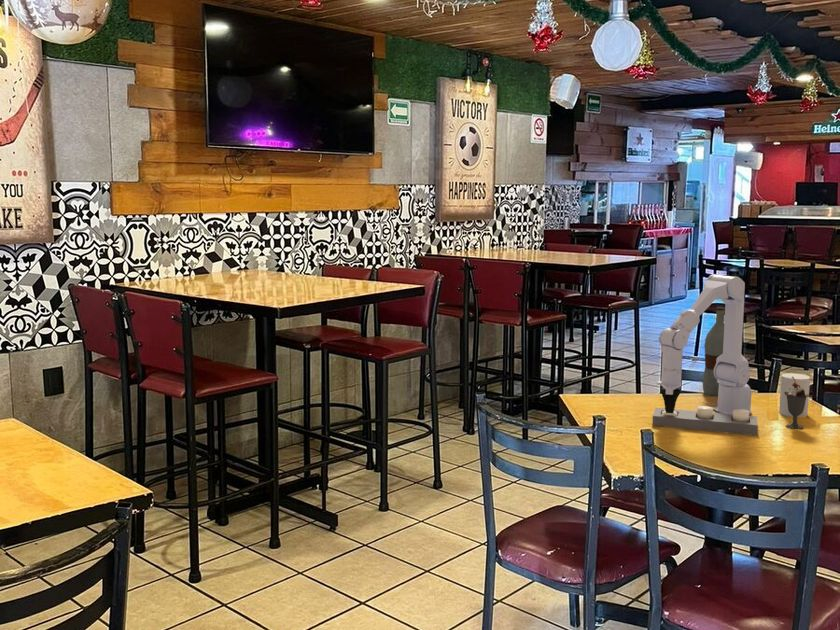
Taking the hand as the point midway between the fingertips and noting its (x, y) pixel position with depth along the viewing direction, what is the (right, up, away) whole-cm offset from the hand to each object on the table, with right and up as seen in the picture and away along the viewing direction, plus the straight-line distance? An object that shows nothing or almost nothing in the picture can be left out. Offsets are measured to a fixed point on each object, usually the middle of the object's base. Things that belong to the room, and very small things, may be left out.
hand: (669, 412), depth 250 cm
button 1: (0, -3, 0) cm, 3 cm away
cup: (+42, -2, +11) cm, 43 cm away
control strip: (+9, -4, -3) cm, 10 cm away
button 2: (+19, -2, -7) cm, 20 cm away
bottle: (+27, +2, +36) cm, 45 cm away
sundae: (+36, -4, -4) cm, 36 cm away
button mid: (+9, -1, -3) cm, 10 cm away
